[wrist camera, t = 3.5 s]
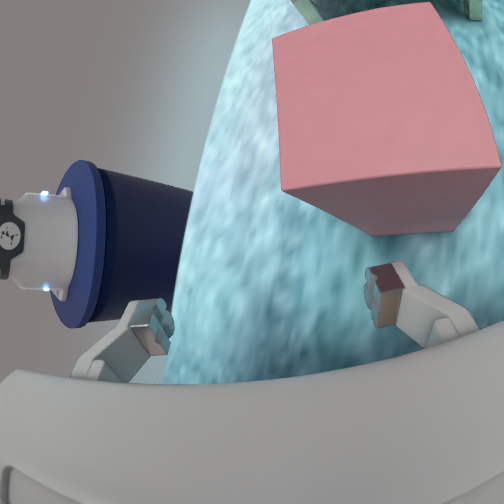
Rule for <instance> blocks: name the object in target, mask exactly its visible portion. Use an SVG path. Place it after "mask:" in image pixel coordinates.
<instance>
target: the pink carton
mask: <svg viewBox="0 0 504 504" xmlns="http://www.w3.org/2000/svg"><path fill="white" fill-rule="evenodd" d="M272 45H273V57H274V70H275V84H276V98H277V114H278V131H279V150H280V172H281V190H282V191H283V192H285V193H287V194H290V195H292V196H294V197H296V198H298V199H300V200H302V201H304V202H307V203H309V204H311V205H313V206H315V207H317V208H319V209H321V210H323V211H325V212H327V213H329V214H331V215H333V216H335V217H337V218H339V219H341V220H343V221H345V222H347V223H349V224H351V225H353V226H355V227H356V228H358V229H360V230H362V231H364V232H366V233H368V234H370V235H372V236H382V235H397V234H413V233H429V232H446V231H454V230H455V229H456V228H457V227H458V225H459V224H460V223H461V222H462V220H463V219H464V218H465V217H466V215H467V214H468V213H469V212H470V210H471V209H472V208H473V206H474V205H475V204H476V202H477V201H478V200H479V198H480V197H481V196H482V194H483V193H484V192H485V190H486V189H487V187H488V186H489V185H490V183H491V182H492V180H493V179H494V177H495V176H496V174H497V173H498V171H499V170H500V168H501V162H500V157H499V153H498V149H497V146H496V142H495V139H494V135H493V132H492V129H491V125H490V122H489V119H488V116H487V113H486V110H485V108H484V105H483V102H482V100H481V97H480V94H479V92H478V90H477V87H476V85H475V82H474V80H473V78H472V75H471V73H470V71H469V69H468V67H467V65H466V63H465V61H464V58H463V56H462V54H461V53H460V51H459V49H458V47H457V45H456V43H455V41H454V39H453V38H452V36H451V34H450V32H449V31H448V29H447V27H446V26H445V24H444V22H443V21H442V19H441V18H440V16H439V14H438V13H437V11H436V10H435V8H434V7H433V5H432V4H431V3H430V2H422V3H412V4H403V5H396V6H389V7H383V8H377V9H372V10H367V11H362V12H357V13H353V14H349V15H345V16H341V17H337V18H333V19H329V20H326V21H322V22H319V23H316V24H312V25H309V26H306V27H303V28H300V29H297V30H294V31H291V32H289V33H286V34H283V35H280V36H278V37H275V38H273V39H272Z"/></svg>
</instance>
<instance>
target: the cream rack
mask: <svg viewBox="0 0 504 504" xmlns="http://www.w3.org/2000/svg"><path fill="white" fill-rule="evenodd" d="M290 1H291V2H292V3H293V5H294V6H295V7H296V8H297V10H298V11H299V12H300V13H301V15H302V16H303V17H304V18H305V20H306V21H307V22H308V24H309V25H312V24H316V23H319V22H322V21H326V18H325V17H324V15H323V14H322V12H321V11H320V9H319V8H318V7H317V5H316V4H315V2H314V1H313V0H290ZM463 3H464V12H465V13H466V15H467V16H468V17H469V19H470V20H477V21H482V20H483V19H482V0H463Z"/></svg>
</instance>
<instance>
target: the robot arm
mask: <svg viewBox="0 0 504 504" xmlns="http://www.w3.org/2000/svg"><path fill="white" fill-rule="evenodd" d="M77 246H78V219H77V211H76V207H75V204H74V202H73V200H72V195H71V188H70V187H65V188H64V189H63V190H62V192H61V193H60V195H52V194H48V192H46V191H43V192H42V193H41V194H40V193H25V195H23V196H22V198H20V199H19V200H18V201H16V202H13V201H12V200H7V199H4V198H1V199H0V279H4V280H5V279H6V280H7V279H8V277H9V278H11V279H12V280H14V281H15V282H16V284H17V285H18V286H19V287H20V288H21V289H26V290H45V291H49V290H51V291H52V292H53V293H54V294H55V296H56V297H57V298H58V299H59V300H60V301H66V300H67V294H68V288H69V285H70V283H71V280H72V277H73V274H74V269H75V264H76V257H77ZM365 278H366V280H367V282H366V284H365V285H364V294H365V301H366V304H367V307H368V309H370V310H372V312H371V317H372V320H373V323H374V325H375V328H376V329H377V328H382V327H387V326H392V325H396V326H397V327H398V328H399V329H401V330H402V331H403V332H404V333H406V334H407V335H408V336H409V337H411V338H412V339H413V340H414V341H416V342H417V343H418V344H419V345H420V346H422V347H423V348H424V349H422V350H419V351H415V352H412V353H408V354H405V355H401V356H397V357H393V358H389V359H385V360H381V361H377V362H373V363H368V364H363V365H359V366H354V367H349V368H344V369H339V370H333V371H327V372H321V373H315V374H309V375H302V376H295V377H287V378H279V379H270V380H260V381H248V382H235V383H217V384H137V383H129V381H130V380H131V379H132V378H133V377H134V375H135V374H136V373H137V372H138V371H139V370H140V368H141V367H142V366H143V365H144V364H145V362H146V361H147V360H148V358H150V356H155V355H168V351H169V347H170V344H171V342H170V340H169V338H170V337H171V336H172V335H173V333H174V320H173V317H172V315H171V313H170V312H168V311H167V310H165V309H166V306H167V305H166V303H165V302H164V300H163V299H161V298H159V299H148V300H138V301H131V302H129V303H128V306H127V308H126V310H125V312H124V314H123V316H122V318H121V320H120V322H119V324H118V327H117V328H113V329H112V330H111V331H110V332H109V333H107V334H106V335H105V336H104V337H103V338H101V339H100V340H99V341H98V342H97V343H96V344H94V345H93V346H92V347H91V348H90V349H89V350H87V351H86V352H85V353H84V354H83V355H82V356H80V357H79V359H78V361H77V363H76V365H75V367H74V369H73V371H72V374H71V376H70V377H63V376H57V375H50V374H45V373H39V372H33V371H29V370H23V369H18V370H15V371H14V372H12V373H11V374H10V375H9V376H8V377H7V378H5V379H4V380H3V381H2V382H1V384H0V504H504V320H503V321H500V322H498V323H495V324H493V325H491V326H488V327H486V328H483V329H481V330H480V329H479V327H478V325H477V324H476V322H475V320H474V319H473V317H472V316H471V314H470V312H469V311H468V309H466V308H465V307H463V306H461V305H459V304H457V303H455V302H453V301H451V300H450V299H448V298H446V297H444V296H442V295H440V294H438V293H436V292H434V291H432V290H430V289H429V288H427V287H425V286H423V285H419V286H418V284H417V283H416V281H415V279H414V278H413V276H412V275H411V273H410V272H409V270H408V269H407V267H406V266H405V264H404V263H403V261H401V260H400V261H396V262H391V263H388V264H383V265H378V266H373V267H367V268H366V269H365Z"/></svg>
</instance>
